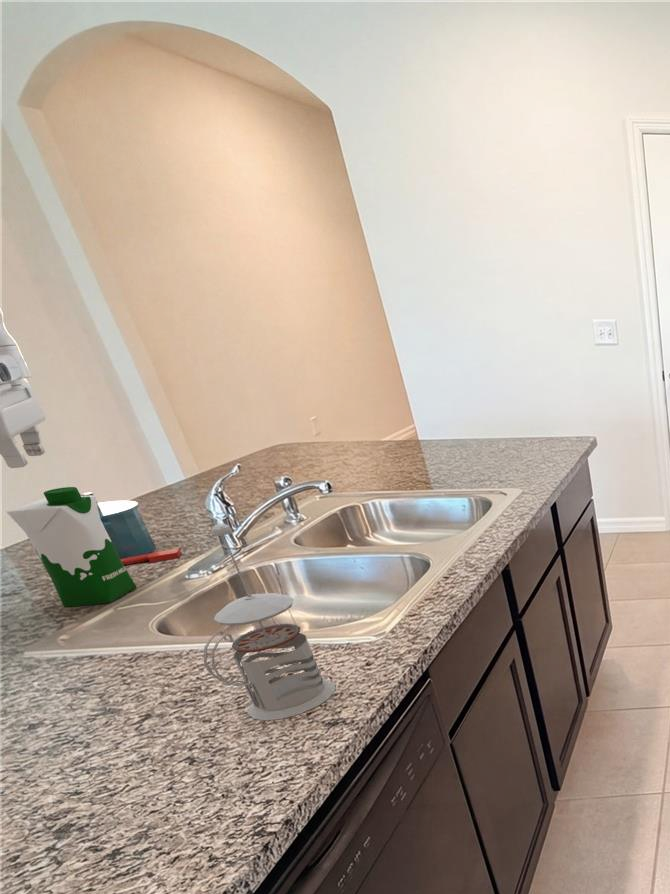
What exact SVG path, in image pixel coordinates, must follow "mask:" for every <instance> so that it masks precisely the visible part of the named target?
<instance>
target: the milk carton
mask: <svg viewBox="0 0 670 894" xmlns="http://www.w3.org/2000/svg"><path fill="white" fill-rule="evenodd" d="M80 494H81V493H80V492H79V489H78V488H77V487H76V486H66V487H58V488H52V489H49V490H45V491H44V492H43V495H44V497H45V498H41V499H38V500H36V501H33V502H32V501H31V502H29V503H27V504H24V505H21V506H18V507H16V508H15V507H14V508H13V509H10V510H7V511H6V514H8V516H10V518H11V519H12V520H13V521H14V522H15V523H16V524H17V525H18V526H19V527H20V529H22V531H24V533H25V535H26V536H27V539H28V540H29V542H30V544H31V545H32V547H33V549H34V551H35V553H36V554H37V556H38V558H39V560H40V561H41V563H42V565H43V567H44V569H45V571H46V572H47V574H48V575H49V578H50V579H51V582H52V584H53V586H54V588H55V590H56V593H57V595H58V597H59V599H60V601H61V604H62V606H63V608H68V607H80V606H82V607H83V606H93V605H103V604H111V603H113V602H115V601H116V600H118V599H119V597H120V598H122V597H123V596H125V595H127V594H128V593H130V592H131V591H134V590H135V589H136V588H138V586H137V585H136V583H135V581H134V580H133V578H132V577H131V575H130V573H129V572H128V570H127V569H126V567H125V565H123V563H122V561H121V559H120V557H119V555H118V553H117V551H116V549H115V548H114V546H113V544H112V542H111V540H110V538H109V536H108V534H107V532H106V530H105V528H104V526H103V524H102V521H101V519H100V515H99V511H98V507H97V503H98V501H97V498H96V496H95V495H94V494H93V495H89V496H81V495H80ZM96 501H97V502H96ZM129 591H130V592H129ZM124 594H125V595H124Z"/></svg>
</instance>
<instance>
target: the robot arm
mask: <svg viewBox="0 0 670 894" xmlns="http://www.w3.org/2000/svg"><path fill="white" fill-rule="evenodd" d="M29 378H32V374H31V371H30V369H29V367H28V364H27V362H26V360H25V358H24V356H23V354H22V352H21V350H20V347H19V345H18V343H17V341H16V340H15V339H14V337H13V336H12V335H11V334H10V333H9V332H8V330H7V328H6V326H5V322H4V314H3V310H2V308H1V307H0V456H1V457H2V458H3V460H4V461H5V462H4V463H6V465H7V467H8V468H10V469H18V468H19V469H20V468H24V467H26V466H27V465H28V463H29V462H28V461H27V459H26V456H25V454H24V453H22V452H21V451H20V449H19V447H18V445H17V441H16V439H15V437H16V436H18V435H19V437H20V440H21V441H22V443H23V444H22V448H23V450H24V451H25V453H26V455H27V456H29V457H38V456H43V455H44V454H45V453H46V449H45V448H44V445H43V443H42V438H41V434H40V433H41V432H40V428H39V427H38V425H39V424H41V423H43V422H44V421H46V413H45V411H44V409H43V407H42V405H41V403H40V402H39V399H38V397H37V396H36V394H35V391H34V390H33V388H32V387H31V385H30V382H29V381H28V380H27V379H29Z"/></svg>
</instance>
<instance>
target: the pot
mask: <svg viewBox="0 0 670 894" xmlns="http://www.w3.org/2000/svg"><path fill="white" fill-rule="evenodd" d="M101 521H102V524H103V526H104V528H105V530H106V532H107V534H108V536H109V538H110V540H111V542H112V544H113V546H114V548H115V549H116V551H117V553H118V555H119V557H120V559H123V558H129V557H135V556H141V555H146V554H150V553H153V552H155V550H156V544H155V543H154V540H153V538H152V536H151V535H150V534H151V533H150V531H149V529H148V528H147V526H146V522H145V521H144V519H143V517H142V514H141V512H140V511H139V509H138V508H136V509H134V510H132V511H129V512H126V513H123V514H120V515H116V516H112V517H108V518H103V519H101ZM152 551H153V552H152Z"/></svg>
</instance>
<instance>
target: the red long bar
mask: <svg viewBox="0 0 670 894" xmlns="http://www.w3.org/2000/svg"><path fill="white" fill-rule="evenodd" d="M181 555H182V551H181V549H180V547H177V548H171V549H167V550H166V549H165V550H159V551H153V552H151V553H149V554H146V555H141V556H135V557H129V558H123V559H121V561H122V563H123V565H124V566H129V565H134V564H140V563H146V562H149V563H157V562H163V561H167V560H168V561H169V560H175V559H180V558H181Z"/></svg>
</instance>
